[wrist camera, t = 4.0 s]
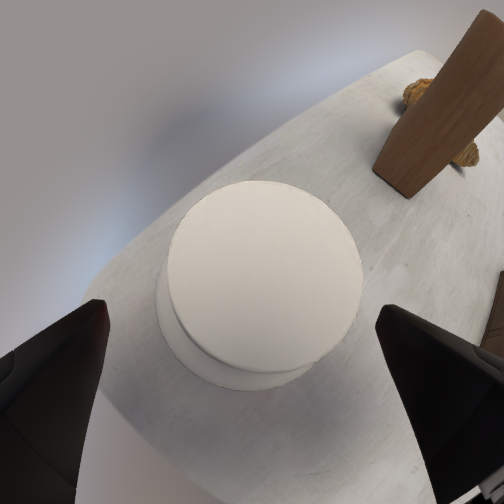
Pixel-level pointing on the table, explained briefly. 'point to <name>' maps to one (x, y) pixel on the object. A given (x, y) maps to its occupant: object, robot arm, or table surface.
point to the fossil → (413, 93)
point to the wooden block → (448, 109)
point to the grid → (496, 324)
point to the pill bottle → (257, 285)
